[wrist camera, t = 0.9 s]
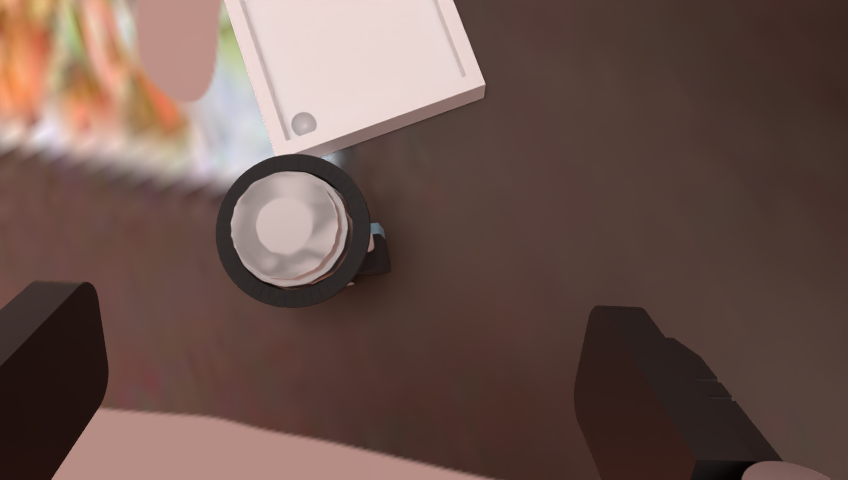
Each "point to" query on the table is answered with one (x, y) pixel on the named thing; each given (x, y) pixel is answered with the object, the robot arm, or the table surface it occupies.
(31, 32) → the table surface
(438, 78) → the white button tray
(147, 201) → the table surface
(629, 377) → the robot arm
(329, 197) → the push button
